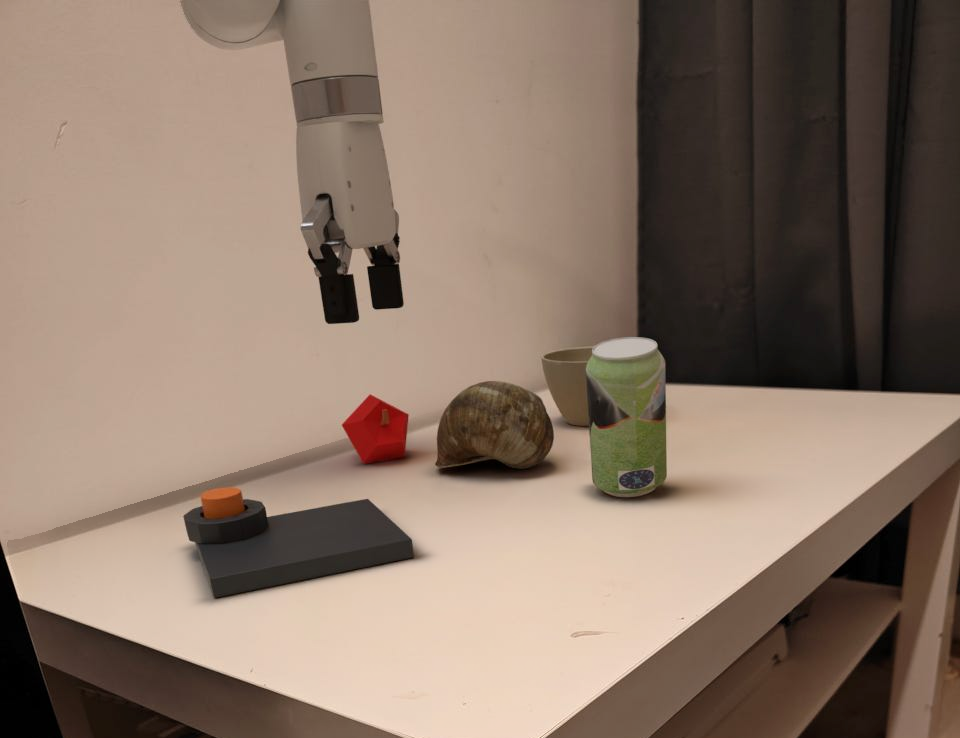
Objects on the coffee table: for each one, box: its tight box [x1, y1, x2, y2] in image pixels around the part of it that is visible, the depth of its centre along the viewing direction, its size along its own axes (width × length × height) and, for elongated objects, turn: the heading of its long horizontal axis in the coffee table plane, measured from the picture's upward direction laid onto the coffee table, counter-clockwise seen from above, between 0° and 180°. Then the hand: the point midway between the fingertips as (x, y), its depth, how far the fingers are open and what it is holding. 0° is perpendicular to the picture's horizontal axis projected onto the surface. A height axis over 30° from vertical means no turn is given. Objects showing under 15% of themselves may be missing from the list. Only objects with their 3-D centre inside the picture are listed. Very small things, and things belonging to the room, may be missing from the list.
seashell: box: [434, 380, 555, 470], centre depth 85 cm, size 11×9×8 cm
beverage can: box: [586, 336, 668, 498], centre depth 74 cm, size 6×7×12 cm
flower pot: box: [540, 346, 594, 427], centre depth 100 cm, size 10×10×7 cm
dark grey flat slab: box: [183, 498, 415, 599], centre depth 69 cm, size 14×13×3 cm
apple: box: [341, 393, 410, 465], centre depth 92 cm, size 7×7×8 cm
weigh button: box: [199, 486, 245, 519], centre depth 70 cm, size 3×3×2 cm
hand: (366, 315), depth 88 cm, fingers open, 9 cm apart
